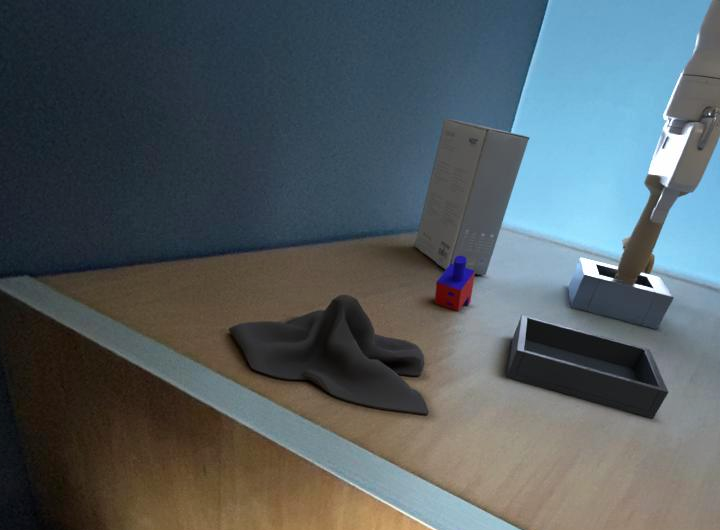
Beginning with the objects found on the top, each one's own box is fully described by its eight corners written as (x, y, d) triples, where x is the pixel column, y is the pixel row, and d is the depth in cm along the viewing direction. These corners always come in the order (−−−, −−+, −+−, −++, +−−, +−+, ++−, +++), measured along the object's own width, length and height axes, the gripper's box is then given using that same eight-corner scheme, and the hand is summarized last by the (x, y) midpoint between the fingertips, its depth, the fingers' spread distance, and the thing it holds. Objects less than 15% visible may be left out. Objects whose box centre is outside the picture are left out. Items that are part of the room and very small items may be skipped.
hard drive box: (487, 277, 95) (531, 137, 83) (446, 272, 93) (486, 128, 81) (449, 250, 107) (484, 124, 95) (412, 246, 104) (443, 115, 92)
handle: (606, 276, 94) (650, 173, 85) (645, 288, 92) (695, 183, 83) (599, 281, 91) (645, 174, 82) (640, 293, 88) (692, 184, 79)
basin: (637, 373, 70) (649, 349, 68) (653, 419, 59) (668, 392, 57) (512, 338, 72) (521, 314, 70) (506, 377, 61) (516, 350, 59)
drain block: (645, 307, 98) (660, 277, 95) (657, 329, 87) (674, 297, 84) (568, 287, 100) (580, 257, 97) (570, 307, 89) (584, 274, 86)
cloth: (195, 344, 54) (196, 278, 50) (306, 308, 67) (313, 254, 64) (397, 438, 46) (416, 368, 43) (477, 377, 60) (497, 319, 56)
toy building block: (433, 312, 80) (438, 263, 73) (447, 294, 81) (452, 244, 74) (456, 321, 79) (463, 272, 72) (470, 302, 80) (478, 252, 73)
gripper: (748, 111, 68) (687, 235, 77) (710, 113, 85) (663, 215, 93) (694, 101, 69) (639, 224, 78) (666, 105, 85) (624, 206, 94)
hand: (652, 219), depth 85 cm, fingers closed on handle, 4 cm apart
